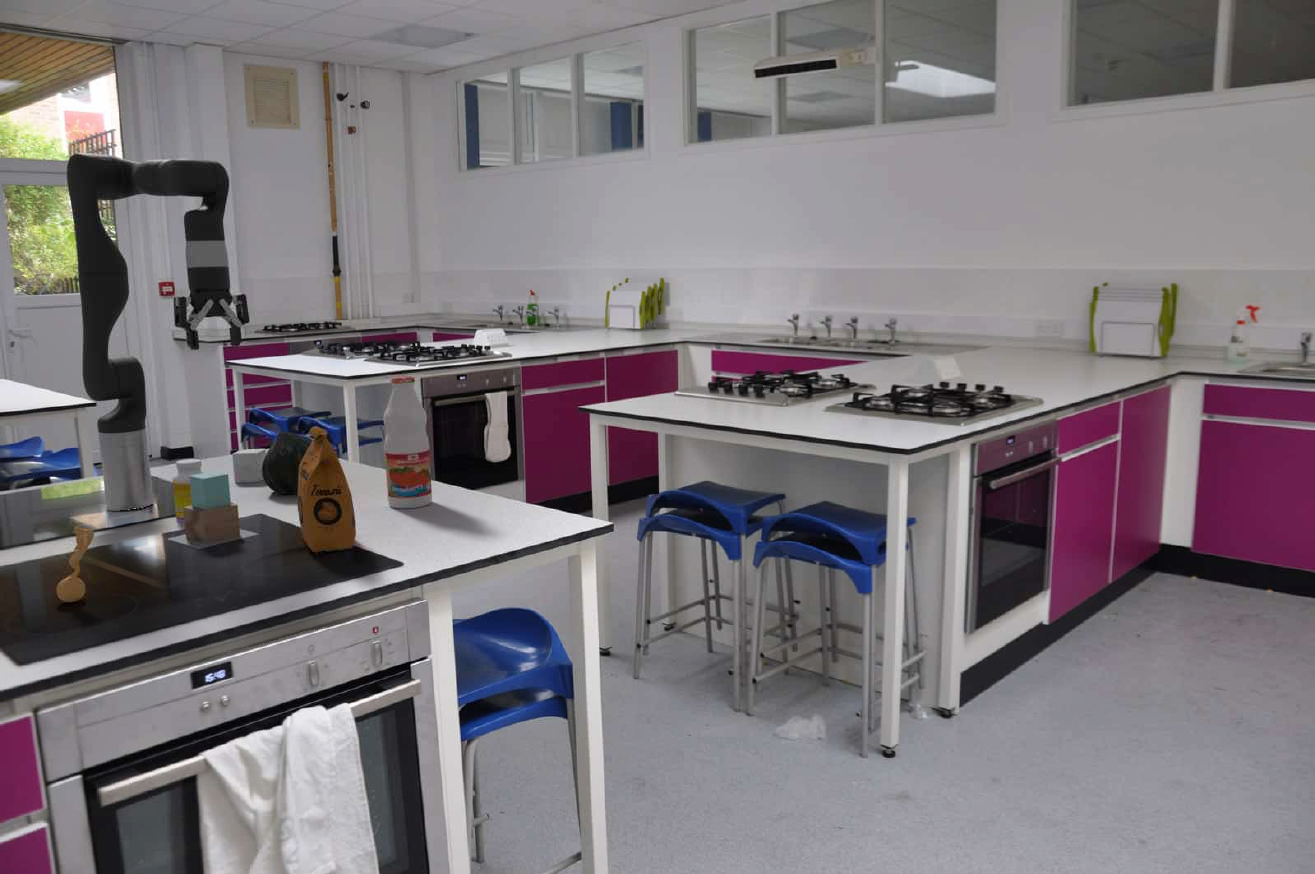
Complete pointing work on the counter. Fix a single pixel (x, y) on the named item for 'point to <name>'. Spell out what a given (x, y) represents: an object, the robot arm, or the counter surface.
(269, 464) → the squash
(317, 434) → the coffee package
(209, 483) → the teal block
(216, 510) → the walnut block
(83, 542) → the figurine
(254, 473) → the skincare box
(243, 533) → the slate pad
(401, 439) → the fruit juice
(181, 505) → the supplement bottle
